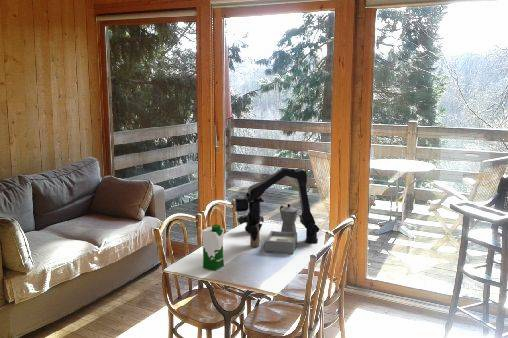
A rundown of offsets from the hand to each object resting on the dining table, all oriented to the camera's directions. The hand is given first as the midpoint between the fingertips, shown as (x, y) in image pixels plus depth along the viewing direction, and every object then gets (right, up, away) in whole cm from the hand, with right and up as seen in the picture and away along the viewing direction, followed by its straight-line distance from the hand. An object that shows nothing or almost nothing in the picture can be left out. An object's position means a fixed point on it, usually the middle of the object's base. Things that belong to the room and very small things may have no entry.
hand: (254, 239), depth 247 cm
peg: (0, -3, +1) cm, 3 cm away
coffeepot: (+18, 0, +18) cm, 26 cm away
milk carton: (-19, -9, -26) cm, 34 cm away
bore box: (+14, -4, -2) cm, 14 cm away
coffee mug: (-1, 0, +22) cm, 22 cm away
